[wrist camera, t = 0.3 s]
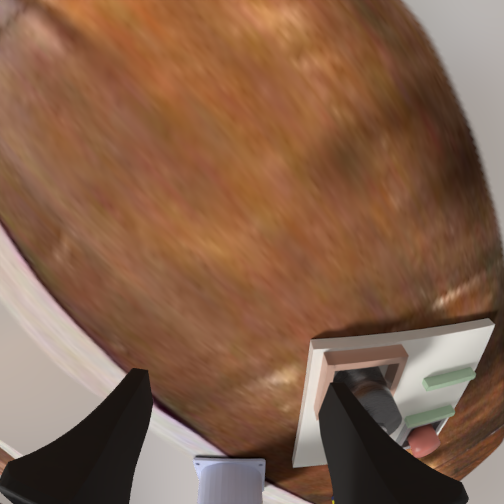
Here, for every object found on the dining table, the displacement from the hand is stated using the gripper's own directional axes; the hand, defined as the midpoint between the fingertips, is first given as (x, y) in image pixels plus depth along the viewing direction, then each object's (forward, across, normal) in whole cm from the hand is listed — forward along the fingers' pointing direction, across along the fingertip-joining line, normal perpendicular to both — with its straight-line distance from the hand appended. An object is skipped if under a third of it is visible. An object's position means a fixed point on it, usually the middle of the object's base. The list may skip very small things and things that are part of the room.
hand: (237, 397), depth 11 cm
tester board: (+10, -15, +12) cm, 22 cm away
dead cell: (+9, -10, +7) cm, 15 cm away
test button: (+8, -21, +17) cm, 28 cm away
